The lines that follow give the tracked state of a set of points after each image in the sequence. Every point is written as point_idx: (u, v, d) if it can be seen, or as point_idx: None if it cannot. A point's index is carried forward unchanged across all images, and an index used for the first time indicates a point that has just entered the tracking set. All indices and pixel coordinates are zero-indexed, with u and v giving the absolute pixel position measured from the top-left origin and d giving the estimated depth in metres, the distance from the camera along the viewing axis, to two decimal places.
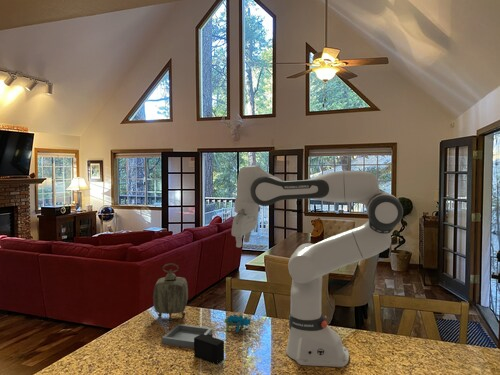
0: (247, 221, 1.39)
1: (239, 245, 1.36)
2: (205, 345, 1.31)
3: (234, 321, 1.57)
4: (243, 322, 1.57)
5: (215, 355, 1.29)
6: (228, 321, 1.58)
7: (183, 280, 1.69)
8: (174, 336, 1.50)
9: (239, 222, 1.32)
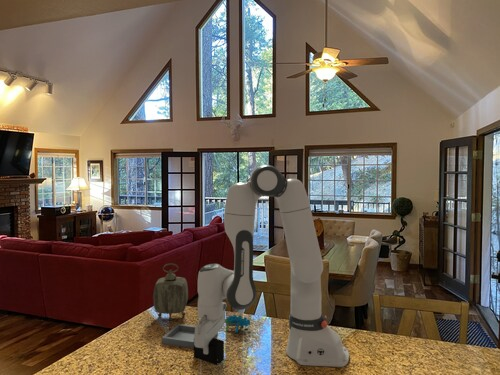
0: (211, 325, 1.31)
1: (206, 352, 1.30)
2: None
3: (234, 321, 1.57)
4: (243, 322, 1.56)
5: (215, 355, 1.29)
6: (228, 321, 1.58)
7: (183, 280, 1.69)
8: (174, 336, 1.50)
9: (201, 333, 1.24)
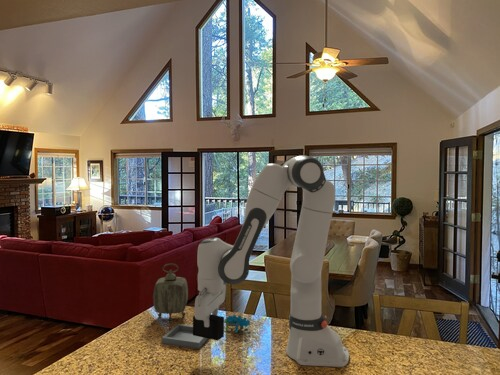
0: (212, 299, 1.30)
1: (207, 325, 1.29)
2: None
3: (233, 321, 1.57)
4: (242, 323, 1.56)
5: (216, 330, 1.28)
6: (227, 321, 1.58)
7: (183, 280, 1.69)
8: (174, 336, 1.50)
9: (201, 304, 1.23)
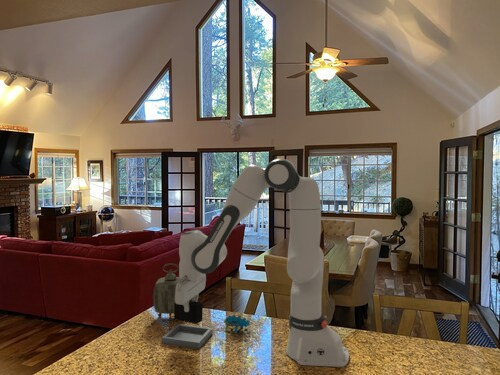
0: (192, 286, 1.42)
1: (187, 309, 1.41)
2: None
3: (233, 322, 1.57)
4: (242, 323, 1.56)
5: (195, 315, 1.40)
6: (227, 321, 1.58)
7: None
8: (174, 336, 1.50)
9: (181, 290, 1.35)
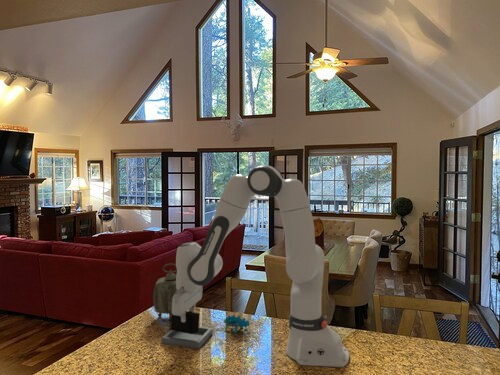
0: (188, 297, 1.45)
1: (184, 320, 1.44)
2: None
3: (233, 322, 1.56)
4: (242, 323, 1.56)
5: (191, 325, 1.43)
6: (227, 321, 1.57)
7: None
8: (174, 336, 1.50)
9: (178, 302, 1.38)
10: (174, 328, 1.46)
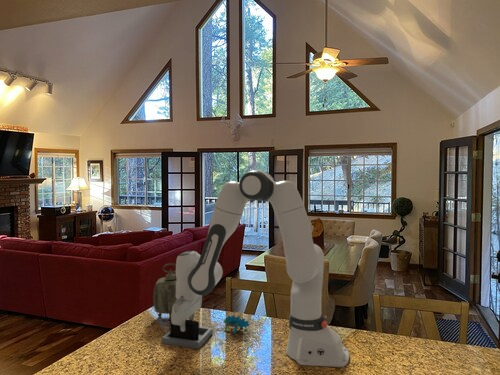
0: (188, 306, 1.45)
1: (183, 329, 1.44)
2: None
3: (233, 322, 1.56)
4: (241, 323, 1.55)
5: (191, 334, 1.43)
6: (227, 321, 1.57)
7: None
8: None
9: (177, 311, 1.38)
10: (174, 337, 1.46)
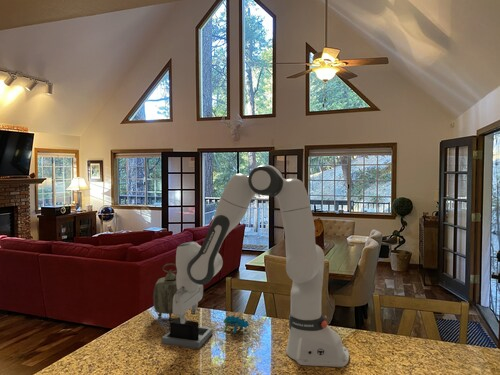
0: (189, 296, 1.45)
1: (183, 321, 1.42)
2: (181, 327, 1.45)
3: (232, 322, 1.56)
4: (241, 323, 1.55)
5: (191, 335, 1.43)
6: (227, 321, 1.57)
7: None
8: None
9: (178, 301, 1.38)
10: None
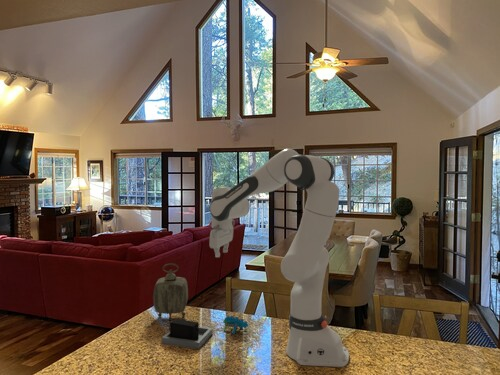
0: (223, 234, 1.63)
1: (218, 255, 1.61)
2: (181, 327, 1.44)
3: (232, 322, 1.56)
4: (241, 324, 1.55)
5: (192, 335, 1.43)
6: (226, 322, 1.57)
7: (183, 280, 1.69)
8: None
9: (215, 236, 1.56)
10: None
